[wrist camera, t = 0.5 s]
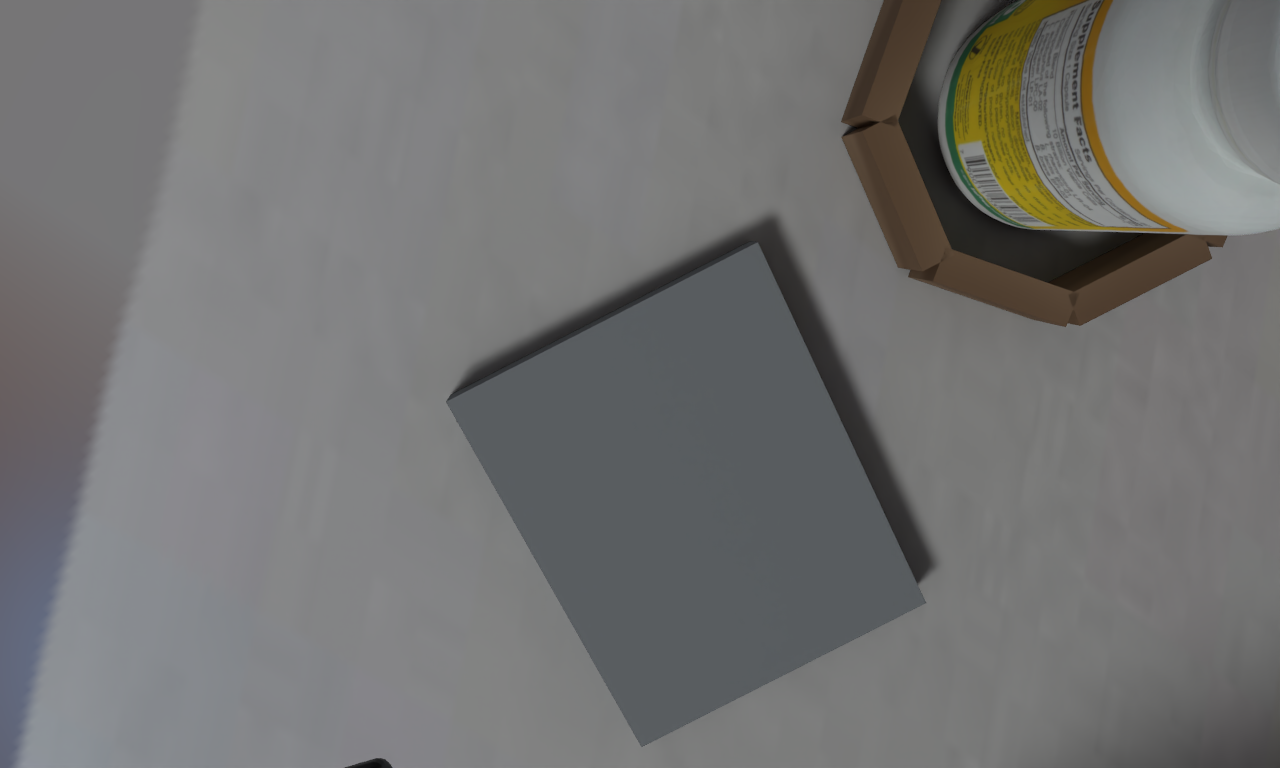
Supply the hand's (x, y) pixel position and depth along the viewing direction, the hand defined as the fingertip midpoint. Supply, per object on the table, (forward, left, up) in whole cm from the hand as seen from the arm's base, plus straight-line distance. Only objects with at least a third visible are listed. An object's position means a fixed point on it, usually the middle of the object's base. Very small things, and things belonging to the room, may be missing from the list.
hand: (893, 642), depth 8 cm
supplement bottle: (+2, -10, -14) cm, 18 cm away
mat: (-3, +1, -14) cm, 15 cm away
